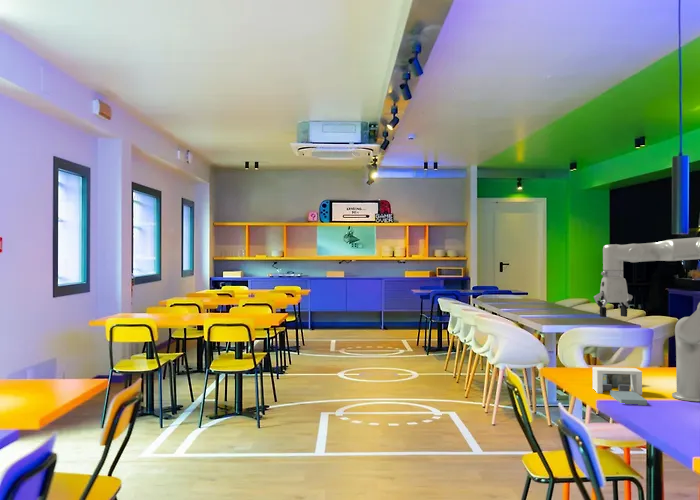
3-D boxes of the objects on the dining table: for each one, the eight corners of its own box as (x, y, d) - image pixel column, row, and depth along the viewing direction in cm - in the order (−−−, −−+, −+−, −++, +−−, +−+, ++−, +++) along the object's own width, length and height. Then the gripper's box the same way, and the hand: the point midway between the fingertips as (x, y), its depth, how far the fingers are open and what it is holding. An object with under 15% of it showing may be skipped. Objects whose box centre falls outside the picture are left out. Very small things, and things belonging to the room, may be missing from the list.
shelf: (635, 390, 248) (635, 368, 248) (642, 394, 240) (641, 371, 241) (592, 389, 251) (592, 367, 251) (597, 393, 243) (597, 370, 243)
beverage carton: (591, 385, 259) (591, 370, 259) (621, 381, 268) (621, 367, 268) (607, 389, 252) (607, 373, 252) (637, 385, 261) (637, 369, 261)
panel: (634, 397, 238) (634, 391, 238) (647, 406, 222) (647, 400, 222) (610, 396, 239) (610, 390, 239) (621, 405, 224) (621, 399, 224)
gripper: (600, 274, 239) (600, 317, 239) (637, 274, 243) (638, 317, 243) (588, 274, 247) (589, 316, 246) (625, 274, 251) (625, 315, 250)
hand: (613, 316), depth 245 cm, fingers open, 9 cm apart
